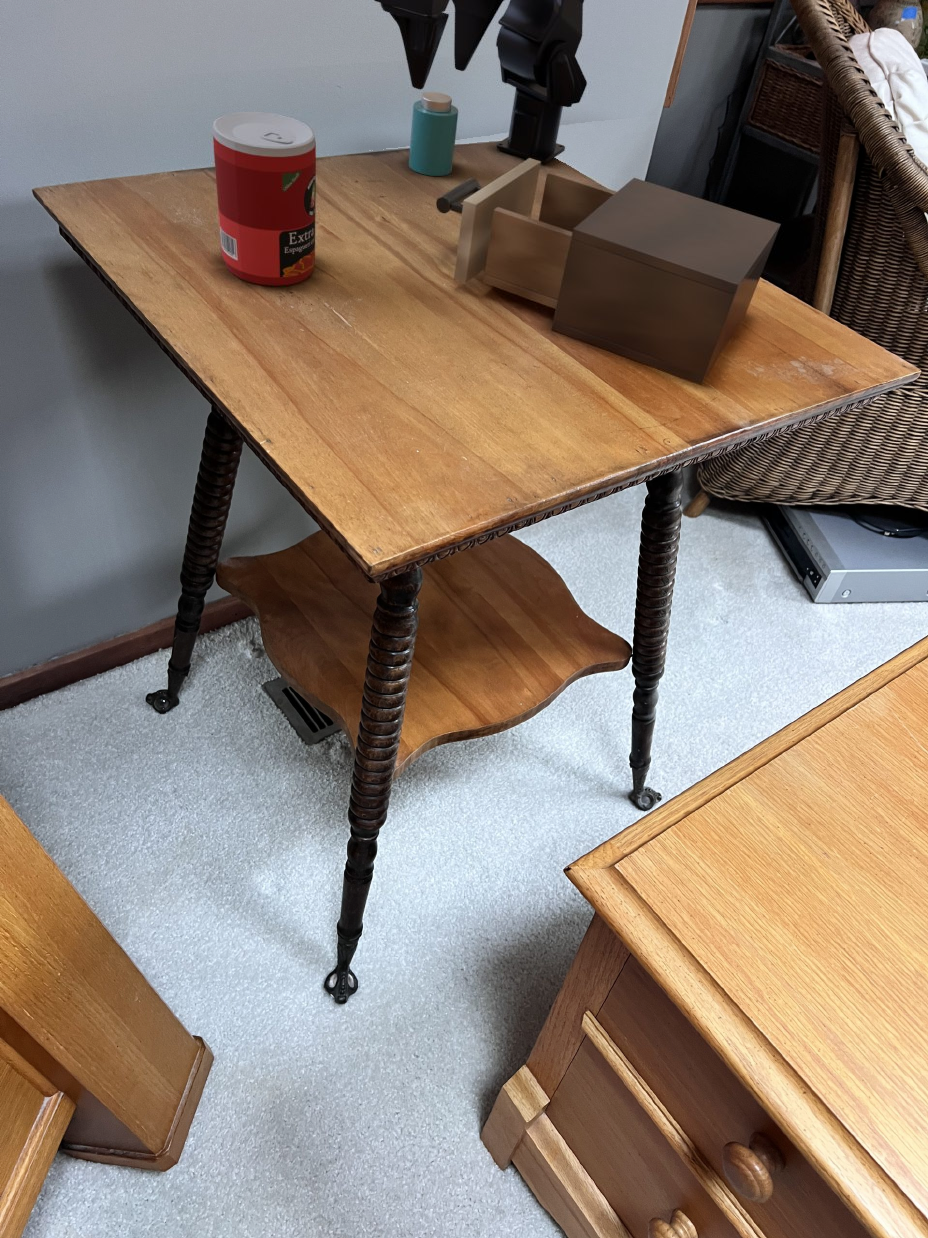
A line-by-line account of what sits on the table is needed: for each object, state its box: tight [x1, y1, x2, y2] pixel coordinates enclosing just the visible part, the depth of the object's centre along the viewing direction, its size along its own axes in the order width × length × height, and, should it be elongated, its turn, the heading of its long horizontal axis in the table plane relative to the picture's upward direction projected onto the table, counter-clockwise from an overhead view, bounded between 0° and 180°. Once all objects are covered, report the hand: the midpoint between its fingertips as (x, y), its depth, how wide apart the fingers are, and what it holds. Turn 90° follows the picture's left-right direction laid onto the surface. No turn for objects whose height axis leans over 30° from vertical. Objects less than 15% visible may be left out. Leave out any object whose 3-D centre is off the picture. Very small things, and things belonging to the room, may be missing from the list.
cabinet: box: [550, 177, 782, 386], centre depth 74 cm, size 14×15×9 cm
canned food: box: [212, 111, 317, 287], centre depth 71 cm, size 8×8×11 cm
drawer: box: [435, 158, 617, 310], centre depth 77 cm, size 17×13×7 cm
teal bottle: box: [408, 91, 459, 177], centre depth 93 cm, size 5×5×7 cm
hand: (439, 78), depth 89 cm, fingers open, 9 cm apart
